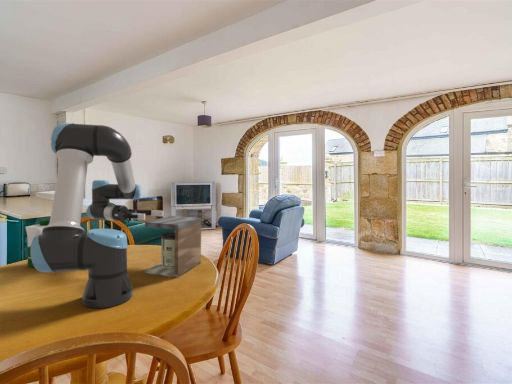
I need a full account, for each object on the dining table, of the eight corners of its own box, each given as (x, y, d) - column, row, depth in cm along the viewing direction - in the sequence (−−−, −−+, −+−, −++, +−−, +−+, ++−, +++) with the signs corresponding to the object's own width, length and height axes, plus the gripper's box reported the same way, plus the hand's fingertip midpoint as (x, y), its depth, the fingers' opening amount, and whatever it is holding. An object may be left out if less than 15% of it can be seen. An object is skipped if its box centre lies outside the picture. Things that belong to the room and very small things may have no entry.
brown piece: (145, 272, 121) (145, 222, 120) (171, 259, 140) (171, 215, 139) (177, 277, 116) (178, 224, 115) (200, 263, 136) (201, 217, 134)
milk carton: (58, 263, 130) (57, 220, 129) (37, 269, 122) (36, 223, 120) (44, 261, 133) (43, 219, 132) (23, 266, 124) (22, 222, 123)
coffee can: (182, 260, 136) (183, 231, 135) (185, 267, 126) (186, 236, 125) (160, 262, 132) (160, 232, 131) (161, 269, 122) (161, 237, 121)
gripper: (134, 217, 149) (169, 219, 143) (95, 224, 125) (135, 227, 119) (134, 203, 148) (169, 205, 142) (95, 207, 124) (135, 209, 119)
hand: (154, 215), depth 131 cm, fingers open, 13 cm apart
